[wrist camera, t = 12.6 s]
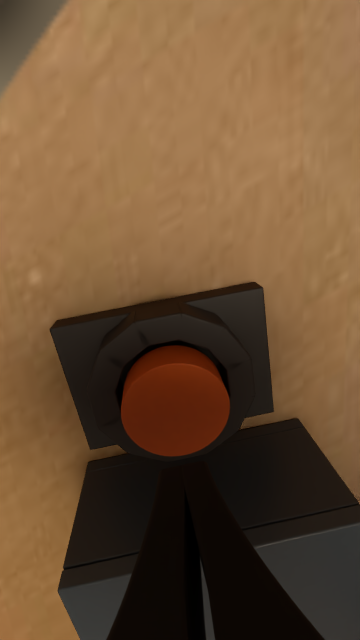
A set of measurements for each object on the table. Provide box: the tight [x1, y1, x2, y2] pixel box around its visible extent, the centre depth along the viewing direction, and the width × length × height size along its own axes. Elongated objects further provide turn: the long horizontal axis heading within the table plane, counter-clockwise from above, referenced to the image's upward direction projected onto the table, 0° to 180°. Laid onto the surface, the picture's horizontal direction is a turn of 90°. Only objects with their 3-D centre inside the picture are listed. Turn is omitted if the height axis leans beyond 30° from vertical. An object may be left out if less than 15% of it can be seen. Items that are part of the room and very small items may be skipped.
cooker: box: [63, 419, 359, 570], centre depth 18 cm, size 13×12×6 cm
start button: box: [121, 345, 230, 456], centre depth 13 cm, size 4×4×2 cm
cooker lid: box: [58, 504, 360, 640], centre depth 15 cm, size 13×12×1 cm
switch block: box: [50, 282, 274, 462], centre depth 15 cm, size 10×7×3 cm
